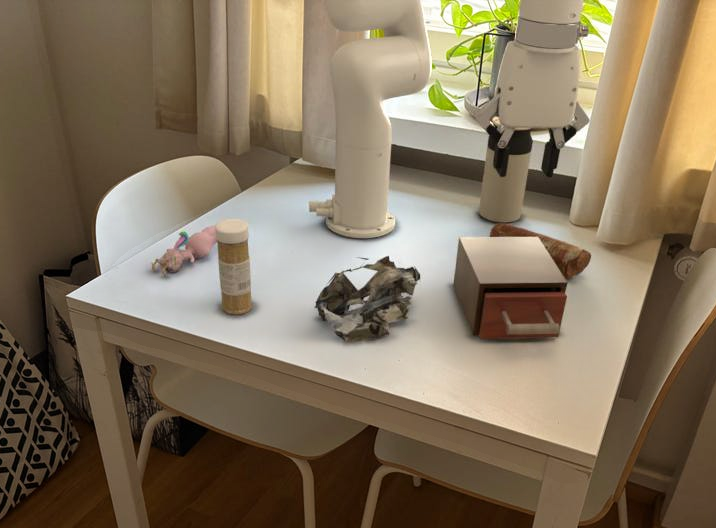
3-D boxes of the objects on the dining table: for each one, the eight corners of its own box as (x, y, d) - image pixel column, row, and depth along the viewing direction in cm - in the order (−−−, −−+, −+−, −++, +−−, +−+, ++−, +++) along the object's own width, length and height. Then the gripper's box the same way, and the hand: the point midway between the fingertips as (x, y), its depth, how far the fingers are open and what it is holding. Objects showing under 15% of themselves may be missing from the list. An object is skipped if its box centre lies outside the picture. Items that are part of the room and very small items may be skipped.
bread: (567, 287, 123) (574, 256, 120) (481, 244, 135) (485, 214, 132) (591, 276, 127) (598, 246, 124) (505, 235, 138) (510, 206, 135)
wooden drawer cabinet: (556, 334, 112) (567, 282, 107) (472, 335, 110) (479, 283, 105) (529, 285, 123) (538, 236, 119) (453, 286, 122) (458, 236, 117)
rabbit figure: (174, 288, 119) (242, 243, 128) (164, 256, 115) (235, 212, 124) (148, 275, 122) (216, 232, 131) (138, 244, 118) (209, 201, 127)
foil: (307, 279, 114) (394, 231, 111) (345, 333, 119) (429, 288, 116) (303, 317, 104) (399, 265, 101) (345, 373, 110) (437, 326, 106)
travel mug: (528, 215, 146) (544, 122, 136) (504, 227, 141) (519, 131, 131) (494, 203, 150) (507, 111, 140) (470, 214, 145) (482, 119, 135)
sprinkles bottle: (244, 297, 116) (239, 214, 108) (258, 311, 113) (254, 227, 105) (216, 305, 113) (208, 221, 106) (229, 319, 110) (223, 234, 103)
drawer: (569, 356, 105) (578, 314, 101) (488, 358, 104) (495, 316, 100) (532, 290, 120) (539, 251, 116) (461, 291, 119) (466, 252, 115)
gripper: (602, 29, 99) (575, 164, 109) (472, 25, 97) (456, 163, 107) (623, 43, 93) (592, 184, 103) (485, 39, 91) (467, 183, 101)
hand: (523, 172), depth 105 cm, fingers open, 5 cm apart
